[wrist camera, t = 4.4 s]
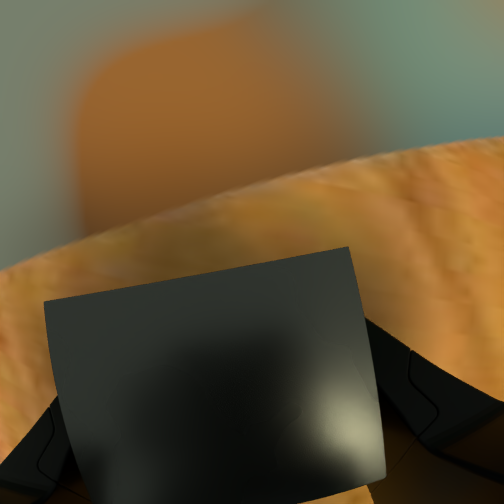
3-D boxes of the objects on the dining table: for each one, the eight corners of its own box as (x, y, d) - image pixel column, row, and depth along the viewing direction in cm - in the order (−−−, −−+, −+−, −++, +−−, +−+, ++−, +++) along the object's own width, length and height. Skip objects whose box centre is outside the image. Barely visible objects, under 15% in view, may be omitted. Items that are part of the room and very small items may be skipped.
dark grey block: (292, 374, 14) (386, 477, 3) (198, 391, 14) (95, 510, 3) (278, 303, 15) (348, 246, 4) (185, 320, 15) (43, 301, 4)
